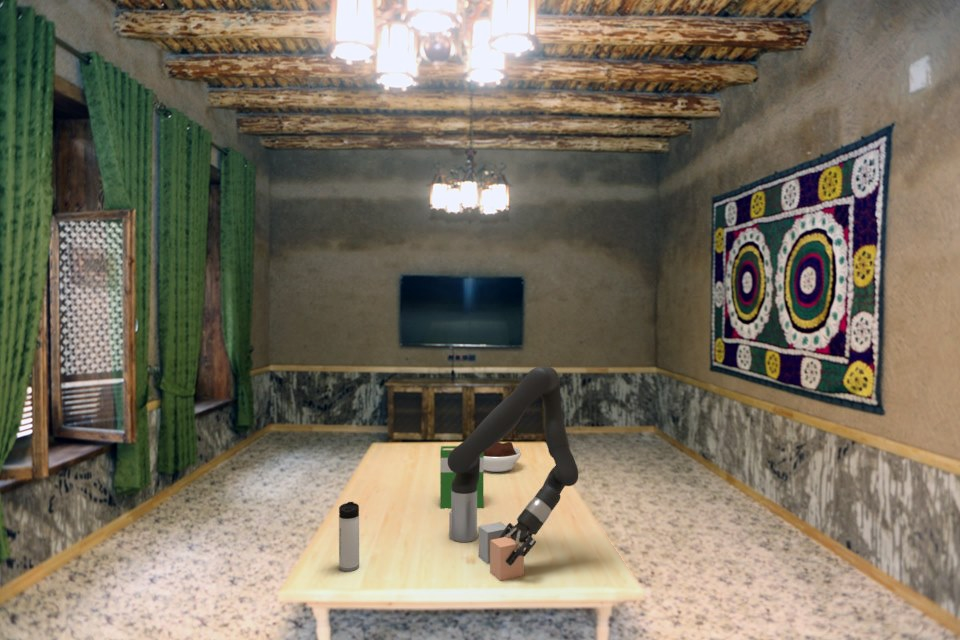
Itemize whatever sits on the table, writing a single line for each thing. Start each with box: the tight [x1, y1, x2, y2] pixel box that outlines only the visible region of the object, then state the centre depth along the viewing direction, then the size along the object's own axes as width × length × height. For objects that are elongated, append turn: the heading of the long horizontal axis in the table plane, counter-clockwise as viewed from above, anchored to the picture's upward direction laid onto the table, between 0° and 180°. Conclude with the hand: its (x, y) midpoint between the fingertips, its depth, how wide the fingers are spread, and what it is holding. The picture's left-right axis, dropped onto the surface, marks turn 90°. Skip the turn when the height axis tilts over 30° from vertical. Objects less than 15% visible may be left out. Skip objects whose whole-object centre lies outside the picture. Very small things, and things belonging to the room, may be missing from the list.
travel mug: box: [338, 501, 360, 572], centre depth 190 cm, size 6×7×20 cm
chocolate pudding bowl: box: [484, 440, 522, 473], centre depth 302 cm, size 25×25×15 cm
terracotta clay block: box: [489, 537, 525, 581], centre depth 186 cm, size 8×6×10 cm
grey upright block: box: [477, 521, 507, 565], centre depth 197 cm, size 8×6×10 cm
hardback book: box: [439, 445, 485, 510], centre depth 248 cm, size 18×7×24 cm, turn 92°
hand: (502, 559), depth 185 cm, fingers closed on terracotta clay block, 6 cm apart
